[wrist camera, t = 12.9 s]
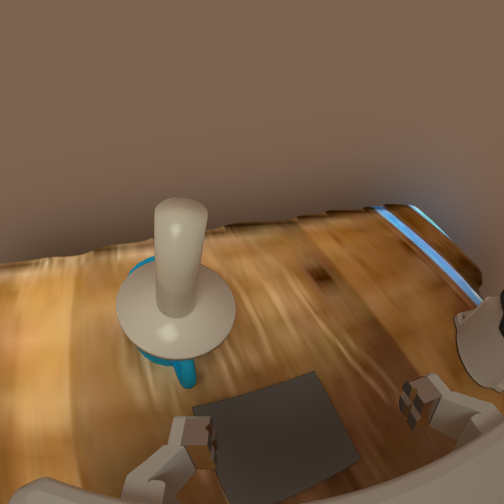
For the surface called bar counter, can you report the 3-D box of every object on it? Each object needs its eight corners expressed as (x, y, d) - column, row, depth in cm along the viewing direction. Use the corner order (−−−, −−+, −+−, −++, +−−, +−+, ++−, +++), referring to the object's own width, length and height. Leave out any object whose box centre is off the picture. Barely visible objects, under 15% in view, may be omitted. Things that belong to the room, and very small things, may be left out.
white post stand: (214, 257, 28) (232, 171, 22) (251, 345, 22) (291, 262, 15) (113, 269, 24) (102, 176, 18) (126, 370, 18) (98, 288, 11)
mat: (313, 372, 30) (314, 370, 29) (358, 459, 22) (360, 458, 22) (192, 408, 24) (192, 407, 24) (236, 516, 16) (237, 516, 16)
